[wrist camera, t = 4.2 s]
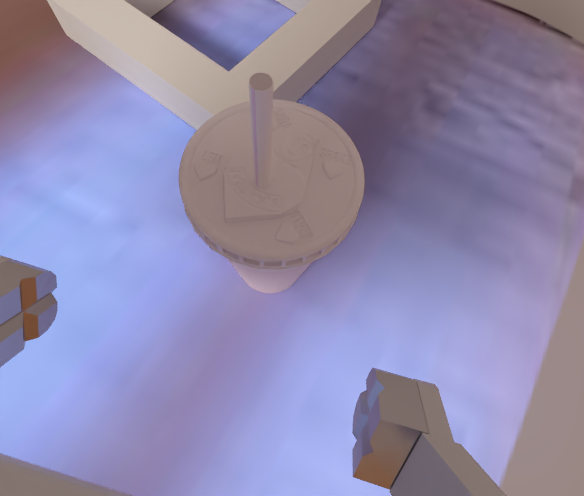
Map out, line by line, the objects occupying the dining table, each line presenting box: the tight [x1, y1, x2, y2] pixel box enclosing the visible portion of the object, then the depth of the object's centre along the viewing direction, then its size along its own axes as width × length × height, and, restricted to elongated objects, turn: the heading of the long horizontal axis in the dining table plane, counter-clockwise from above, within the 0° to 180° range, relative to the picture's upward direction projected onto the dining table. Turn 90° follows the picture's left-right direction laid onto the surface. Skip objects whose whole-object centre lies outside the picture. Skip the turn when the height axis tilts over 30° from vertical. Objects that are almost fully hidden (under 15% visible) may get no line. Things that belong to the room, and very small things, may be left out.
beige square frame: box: [47, 0, 382, 130], centre depth 26 cm, size 16×16×3 cm
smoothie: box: [179, 72, 365, 293], centre depth 15 cm, size 6×6×14 cm
